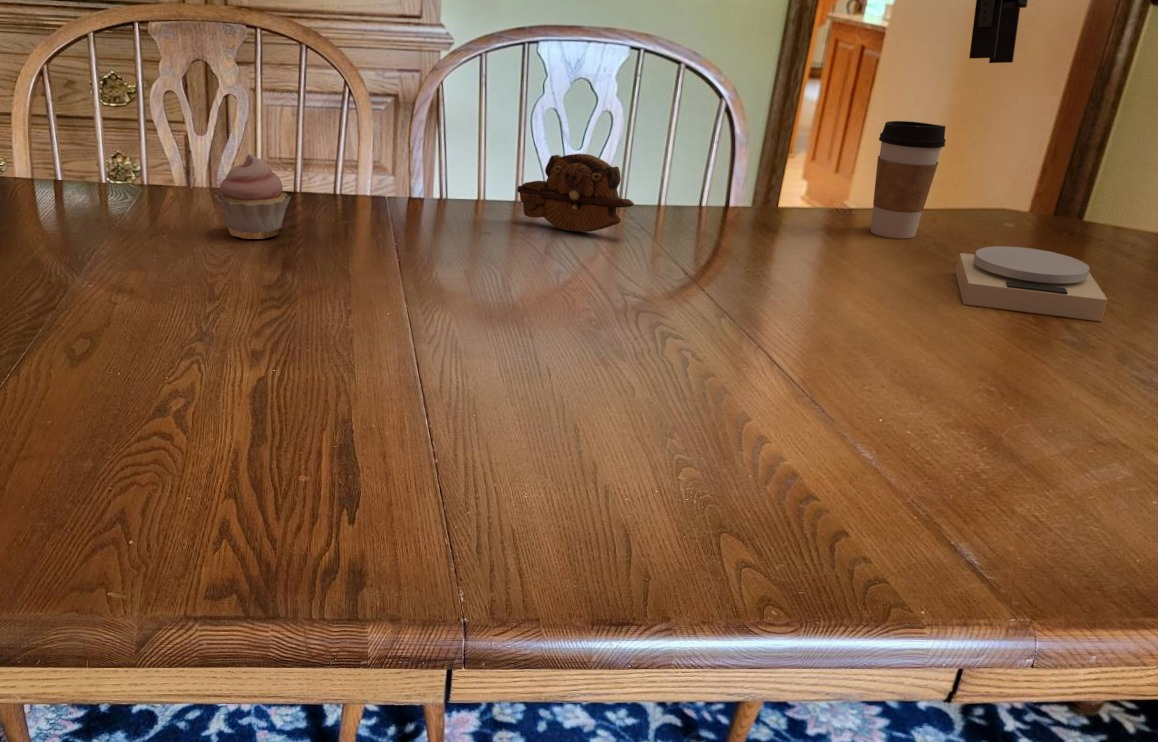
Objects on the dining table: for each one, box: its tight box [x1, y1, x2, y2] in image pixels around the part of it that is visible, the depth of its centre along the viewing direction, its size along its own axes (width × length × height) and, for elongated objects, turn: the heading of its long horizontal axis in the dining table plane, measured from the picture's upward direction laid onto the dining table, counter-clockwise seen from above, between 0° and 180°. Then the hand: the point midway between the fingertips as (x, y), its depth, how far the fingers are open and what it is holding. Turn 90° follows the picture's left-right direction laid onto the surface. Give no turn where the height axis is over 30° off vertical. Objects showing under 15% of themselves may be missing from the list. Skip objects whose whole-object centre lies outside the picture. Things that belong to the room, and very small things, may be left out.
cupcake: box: [214, 153, 291, 233], centre depth 137 cm, size 9×9×10 cm
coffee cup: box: [870, 120, 947, 240], centre depth 150 cm, size 8×8×15 cm
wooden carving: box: [516, 153, 635, 232], centre depth 145 cm, size 16×5×10 cm, turn 60°
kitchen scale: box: [954, 245, 1109, 322], centre depth 126 cm, size 14×14×4 cm
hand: (991, 60), depth 136 cm, fingers open, 13 cm apart
